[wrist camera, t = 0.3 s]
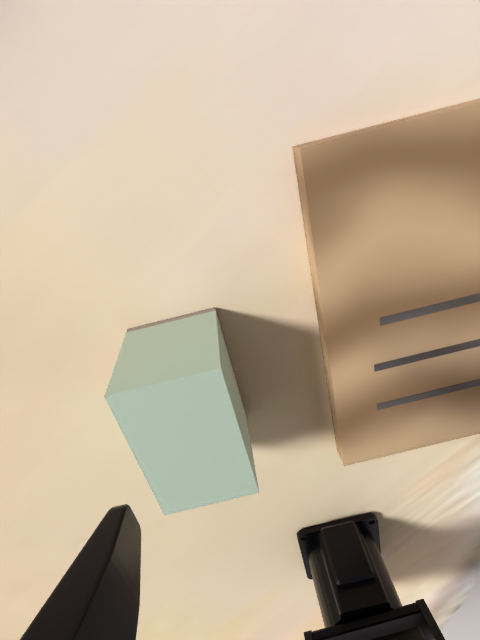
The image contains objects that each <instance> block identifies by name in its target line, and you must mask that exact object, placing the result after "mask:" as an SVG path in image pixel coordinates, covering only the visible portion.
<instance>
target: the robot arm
mask: <svg viewBox="0 0 480 640" xmlns="http://www.w3.org/2000/svg"><path fill="white" fill-rule="evenodd" d="M297 538H298V542H299V546H300V550H301V554H302V558H303V562H304V565H305V569H306V573H307V577H308V578H309V579H313V581H314V585H315V589H316V593H317V597H318V601H319V605H320V609H321V613H322V617H323V621H324V625H325V628H324V629H320V630H316V631H313V632H312V631H311V630H310V631H307V632H304V636H305V640H445V639H444V637H443V635H442V633H441V631H440V629H439V627H438V625H437V623H436V622H435V620H434V618H433V616H432V614H431V612H430V610H429V608H428V607H427V605H426V603H425V601H424V599H421V600H417V601H416V603H412V604H409V605H405V606H402V604H401V602H400V599H399V597H398V595H397V592H396V590H395V588H394V585H393V583H392V580H391V578H390V576H389V573H388V571H387V569H386V566H385V564H384V561H383V559H382V557H381V552H380V540H379V529H378V520H377V518H376V516H375V514H367V515H362V516H358V517H354V518H350V519H346V520H341V521H337V522H333V523H329V524H324V525H320V526H316V527H312V528H308V529H303V530H300V531H299V532H298V533H297ZM140 567H141V529H140V525H139V523H138V521H137V519H136V517H135V515H134V513H133V511H132V509H131V508H130V506H129V505H127V504H125V505H120V506H116V507H112V508H111V509H110V510H109V511H108V512H107V514H106V515H105V517H104V518H103V519H102V521H101V522H100V524H99V525H98V527H97V528H96V530H95V531H94V533H93V534H92V535H91V537H90V538H89V540H88V541H87V543H86V544H85V546H84V547H83V549H82V550H81V551H80V553H79V554H78V556H77V557H76V559H75V560H74V562H73V563H72V565H71V566H70V567H69V569H68V570H67V572H66V573H65V575H64V576H63V578H62V579H61V581H60V582H59V583H58V585H57V586H56V588H55V589H54V591H53V592H52V594H51V595H50V597H49V598H48V600H47V601H46V602H45V604H44V605H43V607H42V608H41V610H40V611H39V613H38V614H37V616H36V617H35V618H34V620H33V621H32V623H31V624H30V626H29V627H28V629H27V630H26V632H25V633H24V634H23V636H22V637H21V639H20V640H136V632H137V624H138V615H139V604H140Z"/></svg>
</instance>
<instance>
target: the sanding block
mask: <svg viewBox="0 0 480 640" xmlns="http://www.w3.org/2000/svg"><path fill="white" fill-rule="evenodd" d="M105 399H106V401H107V403H108V405H109V407H110V409H111V411H112V412H113V414H114V416H115V418H116V420H117V422H118V424H119V426H120V428H121V430H122V432H123V434H124V436H125V438H126V440H127V442H128V444H129V446H130V448H131V450H132V452H133V454H134V456H135V458H136V460H137V462H138V464H139V466H140V468H141V470H142V472H143V474H144V476H145V478H146V479H147V481H148V483H149V485H150V487H151V489H152V491H153V493H154V495H155V497H156V499H157V501H158V503H159V505H160V507H161V509H162V511H163V513H164V515H168V514H172V513H176V512H180V511H184V510H189V509H193V508H197V507H201V506H205V505H209V504H214V503H218V502H222V501H226V500H230V499H235V498H239V497H243V496H247V495H251V494H255V493H259V490H258V483H257V477H256V471H255V465H254V459H253V453H252V447H251V441H250V435H249V429H248V423H247V417H246V412H245V409H244V405H243V402H242V398H241V395H240V392H239V388H238V385H237V381H236V378H235V374H234V371H233V367H232V364H231V360H230V357H229V353H228V350H227V346H226V343H225V340H224V336H223V333H222V329H221V326H220V322H219V319H218V315H217V312H216V308H215V307H214V308H210V309H206V310H202V311H198V312H194V313H190V314H186V315H182V316H178V317H174V318H170V319H166V320H162V321H158V322H154V323H150V324H146V325H142V326H138V327H134V328H130V329H127V332H126V335H125V338H124V341H123V344H122V347H121V350H120V353H119V356H118V359H117V362H116V365H115V368H114V370H113V373H112V376H111V379H110V382H109V385H108V388H107V391H106V394H105Z"/></svg>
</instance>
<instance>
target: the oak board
mask: <svg viewBox="0 0 480 640" xmlns="http://www.w3.org/2000/svg"><path fill="white" fill-rule="evenodd" d="M293 153H294V160H295V167H296V173H297V180H298V187H299V194H300V201H301V208H302V214H303V221H304V228H305V235H306V242H307V248H308V255H309V262H310V269H311V276H312V282H313V289H314V296H315V303H316V310H317V316H318V323H319V330H320V337H321V344H322V350H323V357H324V364H325V371H326V378H327V384H328V391H329V398H330V405H331V412H332V419H333V425H334V432H335V439H336V446H337V450H338V453H339V455H340V457H341V460H342V462H343V464H344V466H346V465H351V464H355V463H359V462H363V461H367V460H371V459H375V458H380V457H384V456H388V455H392V454H396V453H400V452H405V451H409V450H413V449H417V448H421V447H425V446H430V445H434V444H438V443H442V442H446V441H450V440H455V439H459V438H463V437H467V436H471V435H475V434H480V99H477V100H473V101H469V102H465V103H461V104H458V105H454V106H450V107H446V108H442V109H438V110H434V111H430V112H426V113H422V114H418V115H415V116H411V117H407V118H403V119H399V120H395V121H391V122H387V123H383V124H379V125H376V126H372V127H368V128H364V129H360V130H356V131H352V132H348V133H344V134H340V135H336V136H333V137H329V138H325V139H321V140H317V141H313V142H309V143H305V144H301V145H297V146H294V147H293Z"/></svg>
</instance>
